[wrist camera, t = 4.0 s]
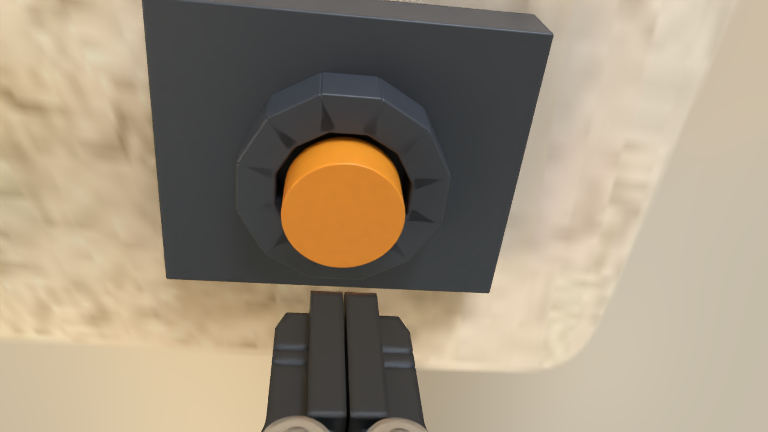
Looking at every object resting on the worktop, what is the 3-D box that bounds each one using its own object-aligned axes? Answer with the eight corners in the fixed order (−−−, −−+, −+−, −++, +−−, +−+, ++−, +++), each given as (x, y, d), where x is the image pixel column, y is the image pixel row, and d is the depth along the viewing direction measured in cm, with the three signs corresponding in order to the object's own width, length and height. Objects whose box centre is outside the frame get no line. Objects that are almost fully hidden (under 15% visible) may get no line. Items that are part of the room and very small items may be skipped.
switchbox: (535, 14, 21) (573, 53, 18) (478, 260, 26) (500, 325, 23) (158, -22, 20) (122, 12, 16) (178, 244, 25) (154, 312, 22)
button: (407, 140, 19) (413, 167, 18) (393, 239, 21) (397, 271, 20) (286, 131, 19) (282, 159, 17) (283, 233, 21) (279, 265, 19)
